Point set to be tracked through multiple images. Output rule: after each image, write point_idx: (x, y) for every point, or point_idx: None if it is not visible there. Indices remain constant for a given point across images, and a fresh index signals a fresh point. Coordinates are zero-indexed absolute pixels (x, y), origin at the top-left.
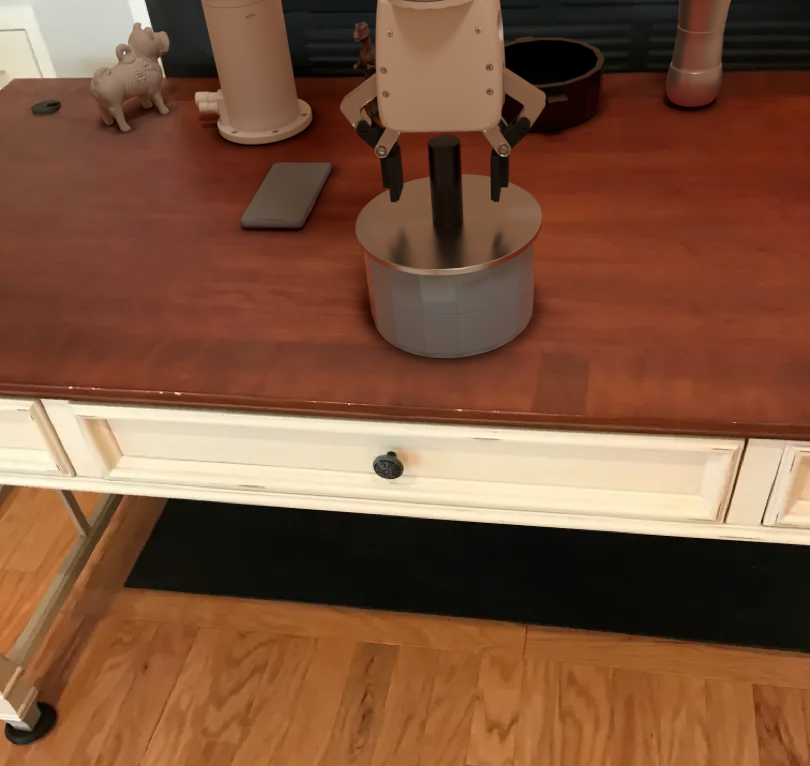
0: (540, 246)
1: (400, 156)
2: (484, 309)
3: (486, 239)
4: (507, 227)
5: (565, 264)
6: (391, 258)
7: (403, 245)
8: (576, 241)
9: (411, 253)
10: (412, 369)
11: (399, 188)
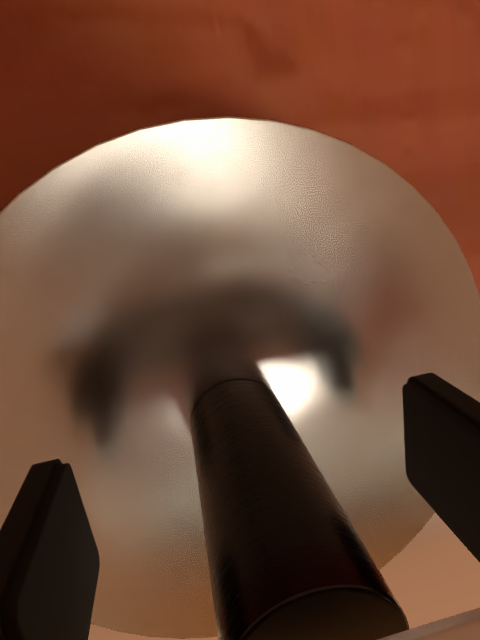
0: (330, 54)
1: (37, 572)
2: None
3: (363, 488)
4: None
5: (388, 127)
6: (149, 624)
7: (157, 569)
8: (403, 20)
9: (192, 592)
10: None
11: (85, 554)
